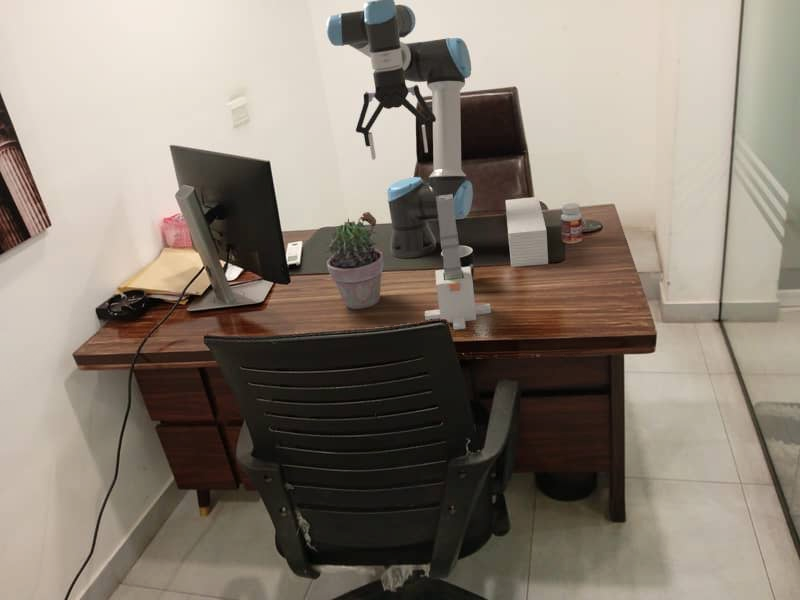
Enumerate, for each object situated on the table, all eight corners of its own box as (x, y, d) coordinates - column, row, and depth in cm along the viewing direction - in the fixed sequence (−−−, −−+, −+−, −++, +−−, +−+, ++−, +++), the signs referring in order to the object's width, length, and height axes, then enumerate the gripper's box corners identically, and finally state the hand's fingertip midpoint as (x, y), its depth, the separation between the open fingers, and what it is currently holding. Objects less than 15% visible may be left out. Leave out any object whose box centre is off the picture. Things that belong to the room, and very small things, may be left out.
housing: (425, 303, 182) (420, 266, 178) (487, 296, 181) (484, 258, 176) (425, 332, 167) (420, 293, 162) (493, 325, 166) (490, 284, 161)
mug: (474, 290, 186) (470, 256, 181) (442, 291, 188) (438, 258, 184) (478, 273, 196) (475, 240, 192) (448, 274, 198) (445, 242, 194)
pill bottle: (572, 245, 205) (571, 210, 200) (557, 241, 210) (556, 207, 205) (586, 239, 208) (585, 204, 203) (571, 235, 213) (570, 201, 208)
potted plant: (313, 310, 188) (295, 227, 178) (361, 284, 201) (346, 204, 191) (358, 324, 177) (342, 235, 166) (406, 294, 189) (393, 210, 179)
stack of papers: (507, 230, 226) (505, 200, 221) (540, 227, 224) (538, 196, 219) (511, 267, 197) (508, 233, 192) (548, 264, 195) (546, 229, 191)
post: (446, 285, 173) (435, 196, 163) (462, 283, 173) (452, 193, 163) (446, 292, 169) (435, 201, 159) (463, 290, 169) (453, 199, 159)
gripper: (336, 77, 161) (351, 164, 169) (439, 62, 158) (449, 151, 167) (339, 74, 167) (353, 157, 176) (438, 59, 165) (447, 145, 174)
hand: (400, 155), depth 172 cm, fingers open, 13 cm apart
